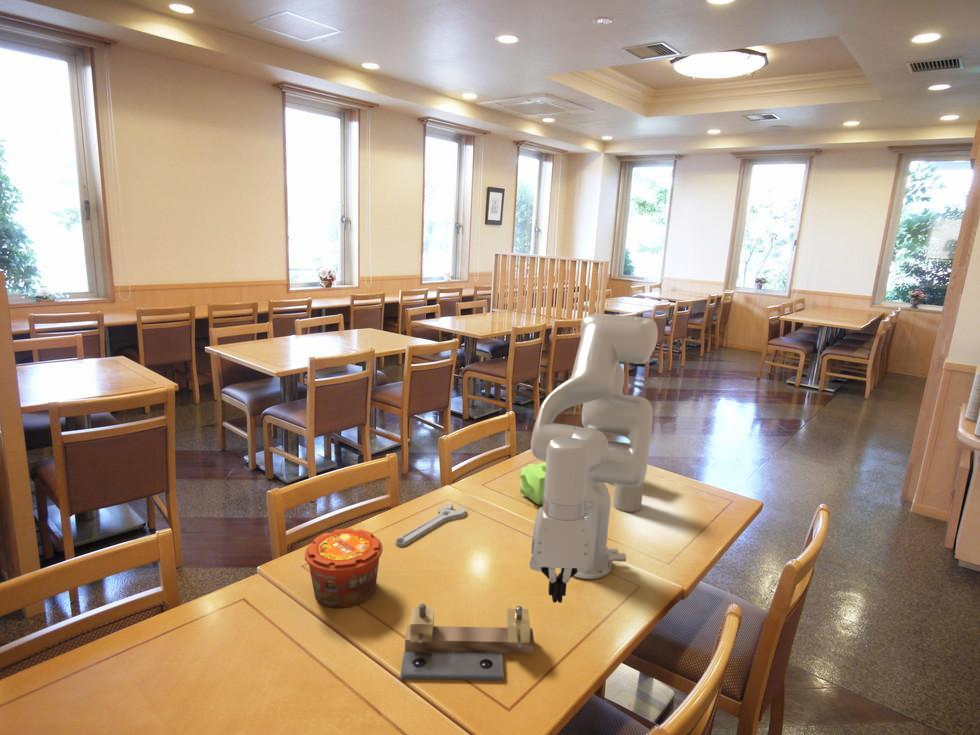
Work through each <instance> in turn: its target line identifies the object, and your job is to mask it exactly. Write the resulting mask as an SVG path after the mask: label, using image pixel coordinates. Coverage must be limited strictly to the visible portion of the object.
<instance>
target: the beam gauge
mask: <svg viewBox="0 0 980 735" xmlns="http://www.w3.org/2000/svg"><path fill="white" fill-rule="evenodd" d="M411 611H412V613H411V618H410V625H407V627H406V632H405V639H404V652H449V653H502V654H512V655H513V654H515V655H517V654H521V655H523V654H524V655H525V654H526V655H534V652H535V637H534V630H533V627H530V640H529V643H521V644H522V645H521V647H518V643H515V642H508V639H507V627H499V626H498V627H497V626H495V627H493V626H492V627H491V626H490V627H489V626H485V627H484V626H451V625H450V626H446V625H444V626H442V625H441V626H439V625H438V626H437V625H435V607H434V606H427V605H426V604H425V603H421V604H419V605H418V606H412V610H411Z"/></svg>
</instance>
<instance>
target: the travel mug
mask: <svg viewBox="0 0 980 735" xmlns="http://www.w3.org/2000/svg"><path fill="white" fill-rule="evenodd" d="M644 481H645V480H644ZM644 481H643V483H642V484H641V485H640V486H638V487H628V486H622V485H616V484H615V485H614V490H613V498H612V505H613V507H615V508H616V509H617V510H620V511H623V512H628V513H630V512H631V513H634V512H638V511H640V510H641V508H642V501H643V500H642V499H643V493H644V492H643V491H644V484H645V482H644Z"/></svg>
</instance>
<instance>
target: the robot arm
mask: <svg viewBox="0 0 980 735" xmlns="http://www.w3.org/2000/svg"><path fill="white" fill-rule="evenodd" d="M579 330H580V331H579V332H580V340H579V345H578V348H577V352H576V356H575V359H574V365H573V368H572V372H571V376H570V378H568V379H567V380H565V381H564V382H562V383H561V384H560V385H558V386H557V387H555V388H554V389H553V390H552V391H551V392H550V393H549V394H548V395H547V396H546V397H545V399H544V400H543V402H542V403H541V405H540V407H539V410H538V413H537V416H536V420H535V423H534V426H533V431H532V433H531V434H532V435H531V440H530V448H531V449H530V450H531V453H532V454H533V456H534V457H535V458H536V459H537V460H539V461H541V462H546V471H545V485H544V497H543V505H542V506H541V507H539V508H538V509H537V513H536V515H535V516H536V517H535V520H534V526H533V532H532V540H531V555H532V556H531V559H530V561H529V568H530V570H532V571H536V572H541V573H542V574H543V575H544V576H545V577H546V578H547V579H548V590H547V591H548V596H551V599H552V603H559V604H561V603H563V597H566V595H567V594H566V593H567V583H569V582H570V579H571V578H572V577H576V578H578V579H584V580H585V579H586V580H595V579H600V578H604V577H605V576H607V575H608V574H609V573H610V572H611V570H612V563H613V562H626V561H627V555H626V552H619V549H618V548H609V547H608V546H607V544H608V534H609V524H610V521H609V520H610V512H611V501H612V500H611V499H612V498H611V495H610V492H609V490H608V487H607V486H606V484H608V483H611V484H616V485H622V486H628V487H638V486H640V485H641V484H642V483H643V481H645V479H646V475H647V471H648V462H649V457H650V456H649V455H650V447H651V439H652V429H653V420H654V412H653V411H654V409H653V406H652V404H651V402H650V400H648V399H647V398H644V397H642V396H637V395H629V394H624V393H623V392H624V384H625V376H626V375H625V371H624V369H623V367H622V365H621V364H620V363H629V364H637V365H638V364H639V365H642V364H646V363H647V362H648V361H649V360H650V358H651V356H652V354H653V353H654V351H655V349H656V347H657V342H658V338H659V337H658V336H659V329H658V325H657V323H656V321H655V320H654V319H652V318H650V317H649V318H648V317H643V316H642V317H641V316H630V315H618V314H610V313H609V314H608V313H593V314H588V315H586V316H584V318H583V319H582V320H581V323H580V328H579ZM581 404H582V408H581V410H582V412H581V423H582V426H583V427H581V426H577V425H571V424H563V423H557V422H554V421H555V419H556V418H557V417H558V415H559V414H560V413H562V412H563V411H565V410H567V409H569V408H572V407H575V406H578V405H581ZM606 435H612V436H618V437H625V438H627V439H628V440H629V442H624V441H623V442H622V441H618V440H617V441H616V440H610V439H608V438H607V436H606ZM605 483H606V484H605ZM611 484H610V485H611ZM556 569H560V572H559V573H558V574H557V573H556Z"/></svg>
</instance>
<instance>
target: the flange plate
mask: <svg viewBox="0 0 980 735" xmlns="http://www.w3.org/2000/svg"><path fill="white" fill-rule="evenodd" d="M503 661H504V660H503V653H456V652H405V651H403V658H402V662H401V668H400V674H399V675H400V680H405V679H406V680H450V681H452V680H454V681H455V680H456V681H459V680H460V681H466V680H467V681H504V663H503Z"/></svg>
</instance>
